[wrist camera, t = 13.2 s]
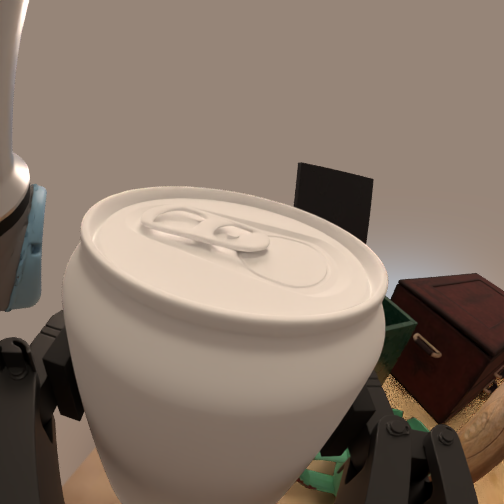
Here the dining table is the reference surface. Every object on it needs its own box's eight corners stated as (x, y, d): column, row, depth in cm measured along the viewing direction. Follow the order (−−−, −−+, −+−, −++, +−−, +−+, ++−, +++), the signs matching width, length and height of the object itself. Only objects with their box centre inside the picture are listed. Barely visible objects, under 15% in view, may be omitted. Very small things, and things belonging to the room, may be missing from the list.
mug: (381, 455, 31) (422, 407, 27) (393, 519, 22) (448, 479, 18) (269, 450, 30) (295, 399, 27) (265, 524, 21) (298, 490, 18)
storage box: (441, 440, 33) (501, 365, 27) (358, 350, 52) (391, 277, 46) (514, 370, 50) (546, 317, 44) (455, 321, 68) (479, 270, 62)
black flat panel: (373, 179, 45) (370, 179, 46) (301, 162, 39) (298, 162, 40) (361, 272, 47) (358, 270, 48) (288, 273, 42) (285, 271, 42)
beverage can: (254, 565, 8) (455, 403, 3) (78, 491, 9) (-19, 232, 4) (289, 435, 15) (382, 229, 10) (154, 387, 16) (170, 172, 12)
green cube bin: (377, 393, 42) (418, 323, 37) (305, 417, 36) (344, 339, 31) (331, 340, 53) (359, 274, 48) (263, 351, 47) (286, 275, 42)
